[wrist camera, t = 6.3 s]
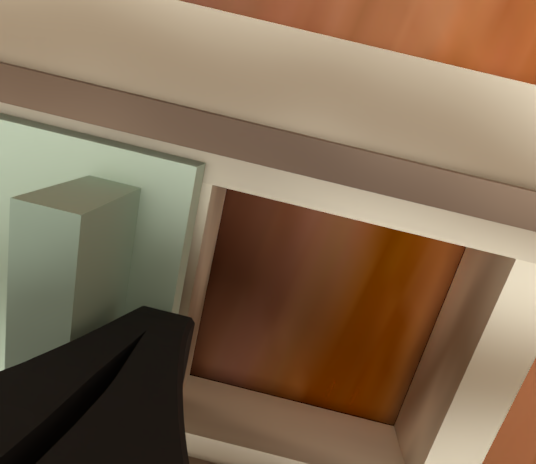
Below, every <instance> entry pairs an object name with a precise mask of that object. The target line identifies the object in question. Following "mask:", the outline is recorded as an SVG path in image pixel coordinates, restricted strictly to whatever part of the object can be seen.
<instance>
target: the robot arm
mask: <svg viewBox="0 0 536 464" xmlns="http://www.w3.org/2000/svg"><path fill="white" fill-rule="evenodd" d="M194 326H195V322H194V321H193V319H192V318H191V317H188V316H184V315H179V314H175V313H171V312H167V311H163V310H159V309H155V308H151V307H147V306H141V307H139V308H137V309H135V310H133V311H131V312H129V313H127V314H125V315H123V316H121V317H119V318H117V319H115V320H113V321H112V322H110V323H108V324H106V325H104V326H102V327H100V328H98V329H96V330H93V331H91V332H89V333H87V334H85V335H83V336H81V337H79V338H77V339H75V340H73V341H71V342H69V343H66V344H64V345H62V346H59V347H57V348H55V349H53V350H50V351H48V352H46V353H43V354H41V355H39V356H37V357H34V358H32V359H30V360H27V361H25V362H23V363H20V364H17V365H15V366H12V367H10V368H7V369H4V370H2V371H0V464H189V458H188V452H187V444H186V435H185V425H184V411H183V382H184V377H185V372H186V367H187V362H188V356H189V351H190V346H191V341H192V336H193V331H194Z"/></svg>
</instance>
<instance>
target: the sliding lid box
mask: <svg viewBox="0 0 536 464" xmlns="http://www.w3.org/2000/svg"><path fill="white" fill-rule="evenodd" d="M0 113H2V114H7V115H11V116H15V117H19V118H23V119H27V120H31V121H35V122H40V123H44V124H48V125H52V126H56V127H60V128H64V129H68V130H72V131H77V132H81V133H85V134H89V135H93V136H97V137H101V138H105V139H109V140H114V141H118V142H122V143H126V144H130V145H134V146H138V147H142V148H147V149H151V150H155V151H159V152H163V153H167V154H171V155H175V156H179V157H184V158H188V159H192V160H196V161H200V162H204V163H206V164H205V169H204V175H203V180H202V186H201V191H200V197H199V203H198V208H197V214H196V219H195V225H194V230H193V236H192V241H191V247H190V252H189V258H188V264H187V269H186V275H185V280H184V286H183V291H182V297H181V302H180V308H179V313H178V314H179V315H184V316H188V317H191V318H192V319H193V321H194V322H195V326H194V331H193V336H192V341H191V346H190V351H189V356H188V362H187V367H186V372H185V377H184V382H183V411H184V425H185V435H186V444H187V452H188V458H189V464H482V462H483V460H484V458H485V456H486V455H487V453H488V451H489V449H490V447H491V445H492V443H493V441H494V439H495V437H496V435H497V433H498V431H499V429H500V427H501V425H502V423H503V421H504V419H505V417H506V415H507V413H508V411H509V409H510V407H511V405H512V403H513V401H514V399H515V397H516V395H517V393H518V391H519V389H520V387H521V385H522V383H523V381H524V379H525V377H526V375H527V373H528V372H529V370H530V368H531V366H532V364H533V362H534V360H535V358H536V85H533V84H529V83H525V82H520V81H516V80H512V79H508V78H503V77H499V76H495V75H491V74H487V73H482V72H478V71H474V70H470V69H466V68H461V67H457V66H453V65H449V64H444V63H440V62H436V61H432V60H428V59H423V58H419V57H415V56H411V55H407V54H402V53H398V52H394V51H390V50H385V49H381V48H377V47H373V46H369V45H364V44H360V43H356V42H352V41H347V40H343V39H339V38H335V37H331V36H326V35H322V34H318V33H314V32H310V31H305V30H301V29H297V28H293V27H288V26H284V25H280V24H276V23H272V22H267V21H263V20H259V19H255V18H251V17H246V16H242V15H238V14H234V13H229V12H225V11H221V10H217V9H213V8H208V7H204V6H200V5H196V4H191V3H187V2H183V1H179V0H0ZM227 189H231V190H235V191H239V192H243V193H247V194H252V195H256V196H260V197H264V198H268V199H272V200H276V201H280V202H284V203H289V204H293V205H297V206H301V207H305V208H309V209H313V210H317V211H321V212H325V213H330V214H334V215H338V216H342V217H346V218H350V219H354V220H358V221H362V222H366V223H371V224H375V225H379V226H383V227H387V228H391V229H395V230H399V231H403V232H407V233H412V234H416V235H420V236H424V237H428V238H432V239H436V240H440V241H444V242H448V243H453V244H457V245H461V246H465V247H466V249H465V251H464V254H463V256H462V259H461V261H460V264H459V266H458V269H457V271H456V274H455V276H454V279H453V281H452V284H451V286H450V289H449V291H448V294H447V296H446V298H445V301H444V303H443V306H442V308H441V311H440V313H439V316H438V318H437V321H436V323H435V326H434V328H433V331H432V333H431V336H430V338H429V340H428V343H427V345H426V348H425V350H424V353H423V355H422V358H421V360H420V363H419V365H418V368H417V370H416V373H415V375H414V378H413V380H412V383H411V385H410V387H409V390H408V392H407V395H406V397H405V400H404V402H403V405H402V407H401V410H400V412H399V415H398V417H397V420H396V422H395V425H394V426H391V425H387V424H383V423H379V422H375V421H371V420H367V419H363V418H359V417H355V416H351V415H347V414H343V413H339V412H335V411H331V410H327V409H323V408H319V407H315V406H311V405H307V404H303V403H299V402H295V401H291V400H287V399H283V398H279V397H275V396H271V395H267V394H264V393H260V392H256V391H252V390H248V389H244V388H240V387H236V386H232V385H228V384H224V383H220V382H216V381H212V380H208V379H204V378H200V377H196V376H192V375H190V370H191V365H192V360H193V355H194V350H195V345H196V340H197V335H198V330H199V325H200V320H201V315H202V310H203V305H204V300H205V295H206V290H207V285H208V280H209V275H210V270H211V265H212V261H213V256H214V251H215V246H216V241H217V236H218V231H219V226H220V221H221V216H222V211H223V206H224V201H225V196H226V191H227Z"/></svg>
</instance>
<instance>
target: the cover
mask: <svg viewBox="0 0 536 464" xmlns="http://www.w3.org/2000/svg"><path fill="white" fill-rule="evenodd" d="M205 164H206V163H204V162H200V161H196V160H192V159H188V158H184V157H179V156H175V155H171V154H167V153H163V152H159V151H155V150H151V149H147V148H142V147H138V146H134V145H130V144H126V143H122V142H118V141H114V140H109V139H105V138H101V137H97V136H93V135H89V134H85V133H81V132H77V131H72V130H68V129H64V128H60V127H56V126H52V125H48V124H44V123H40V122H35V121H31V120H27V119H23V118H19V117H15V116H11V115H7V114H2V113H0V371H2V370H4V369H7V368H10V367H12V366H15V365H17V364H20V363H23V362H25V361H27V360H30V359H32V358H34V357H37V356H39V355H41V354H43V353H46V352H48V351H50V350H53V349H55V348H57V347H59V346H62V345H64V344H66V343H69V342H71V341H73V340H75V339H77V338H79V337H81V336H83V335H85V334H87V333H89V332H91V331H93V330H96V329H98V328H100V327H102V326H104V325H106V324H108V323H110V322H112V321H113V320H115V319H117V318H119V317H121V316H123V315H125V314H127V313H129V312H131V311H133V310H135V309H137V308H139V307H141V306H147V307H151V308H155V309H159V310H163V311H167V312H171V313H175V314H178V313H179V308H180V302H181V297H182V291H183V286H184V280H185V275H186V269H187V264H188V258H189V252H190V247H191V241H192V236H193V230H194V225H195V219H196V214H197V208H198V203H199V197H200V191H201V186H202V180H203V175H204V169H205Z"/></svg>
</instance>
